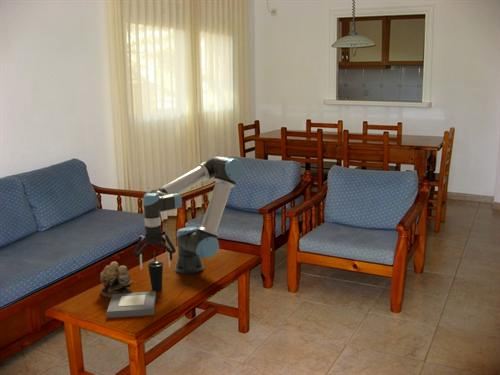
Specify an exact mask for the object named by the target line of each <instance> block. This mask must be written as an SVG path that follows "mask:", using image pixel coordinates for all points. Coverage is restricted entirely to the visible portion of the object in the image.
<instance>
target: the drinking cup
mask: <svg viewBox="0 0 500 375" xmlns="http://www.w3.org/2000/svg"><path fill="white" fill-rule="evenodd" d="M156 256H157V255H156V250H154V251H153V257H154V258H153V260H152V261H150V262H148V263H147V264H146V266H147V268H148V274H149V279H150V284H151V290H152V291H156V293H158V292H162V291H163V274H164V273H163V270H164V269H163V268H164V262H163V261H161V260H157V257H156Z"/></svg>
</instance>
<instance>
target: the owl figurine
mask: <svg viewBox="0 0 500 375" xmlns="http://www.w3.org/2000/svg"><path fill="white" fill-rule="evenodd" d="M99 276H100V277H99V278H100V281H101V284H102V286H103V287H104V288H101V290H100V291H99V296H100V297H102V298H104V299H108V300H111V298H112V295H113V294H121V293H134V292H133V290H131V289H130V287H131V286H132V284H134V281H133V280H131V275H130V273H129V272H128V267H127V266H126V265H119V263H118V262H117V261H111V262H110V264H108V265H105V267H104V268H103V270H102V271H101V272H100V275H99ZM130 280H131V281H130Z"/></svg>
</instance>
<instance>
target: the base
mask: <svg viewBox="0 0 500 375" xmlns="http://www.w3.org/2000/svg"><path fill="white" fill-rule="evenodd" d="M156 300H157V292H156V291H139V292H138V291H137V292H133V293H121V294H113V295H112V298H111V299H110V301H109V303H108V307H107V310H106V318H107V319H113V318H116V319H117V318H128V317H141V316H142V317H143V316H154V314H155V306H156Z"/></svg>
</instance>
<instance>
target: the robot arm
mask: <svg viewBox="0 0 500 375" xmlns="http://www.w3.org/2000/svg"><path fill="white" fill-rule="evenodd" d="M244 173H245V167H244V166H243V163H242V161H241V160H239V159H237V158H234V157H227V156H222V155H221V156H220V155H217V156H214V157H211V158H208V159H206V160H204V161H203V162H200V163H198V165H197V167H195V168H194V169H192V170H190V171H189V172H186V173H184V174H182V175H180V176H179V177H177V178H175V179H174V180H172V181H170V182H168V183H166V184H164V185H162V186H160V187H159V188H157V189H150V190H148V191H147V192H145V194H144V195H143V202H142V205H143V213H144V214H143V216H144V226H145V227H144V230H145V233H144V234H145V235H141V234H140V235H139V237H138V241H137V244H136V247H135V249H134V251H133V253H132V254H133V256H136V258H137V263H139V266H140V267H139V268H140V270H143V255H142V253H143V252H144V251H145V249H146V248H147V247H148V246H149V245H150V246H152V245H160V246H161V247H162V248H163V249H165V251H166V252H167V257H168V258H167V260H168V261H167V262H168V268H171V267H172V266H171V261H173V254H175V253H176V248H175V246H174V244H173V243H172V241H171V240H170V238H169V234H168V233H165V234H162V226H161V224H162V223H161V222H162V221H161V213H162V212H167V211H172V210H177V209H180V208H181V207H182V205H183V198H182V196H181V193H183V192H185V191H186V190H189V189H190V188H192V187H194V186H196V185H197V184H199V183H201V182H203V181H209V180H210V179H213V178H214V179H213V180H214V181H215V184H214V187H213V190H212V193H211V196H210V199H209V201H208V205H207V208H206V210H205V213H204V216H203V219H202V222H201V224H200V226H198V227H197V226H187V227H183V228H179V229H177V231H176V244H177V259H176V262H175V269H174V270H175V272H177V273H178V274H184V275H189V274H191V275H192V274H197V273H200V272H202V271H203V270H204V263H203V260H202V259H211V258H213V257H214V256H216V255H217V253H218V251H219V249H220V243H219V240H218V238H219V233H218V228H219V226H220V222H221V219H222V216H223V213H224V210H225V208H226V204H227V202H228V199H229V195H230V192H231V190H232V188H234V187H235V186H236V185H237V184H236V183H237V182H239V181H241V180H242V178H243V177H244V176H245V174H244ZM162 239H164V240H165V241H166V243H167V244H168V245H167V244H165V242H163V240H162ZM144 240H145V241H146V242H144V244H143V246H142V247H141V248H140V249H139V247H140V245H141V243H142V241H144ZM168 246H169V247H168ZM138 250H139V251H138ZM201 270H202V271H201ZM199 271H200V272H199Z"/></svg>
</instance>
